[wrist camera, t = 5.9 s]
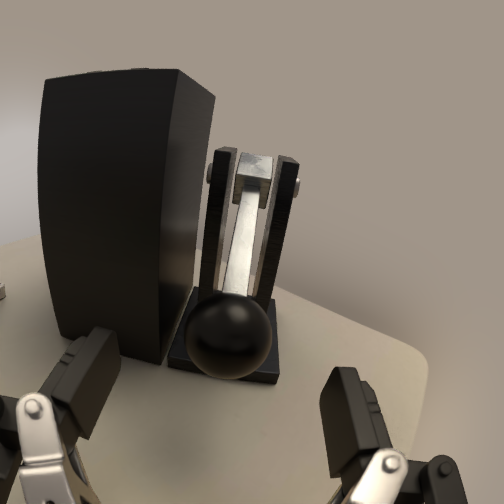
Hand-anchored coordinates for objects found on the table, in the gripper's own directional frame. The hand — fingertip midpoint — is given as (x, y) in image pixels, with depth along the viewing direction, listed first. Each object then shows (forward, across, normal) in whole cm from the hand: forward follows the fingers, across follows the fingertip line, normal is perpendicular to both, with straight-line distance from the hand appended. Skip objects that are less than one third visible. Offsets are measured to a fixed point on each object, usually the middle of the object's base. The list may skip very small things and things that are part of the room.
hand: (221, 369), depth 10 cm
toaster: (+13, +9, +8) cm, 18 cm away
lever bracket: (+12, 0, +8) cm, 15 cm away
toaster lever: (+8, 0, -1) cm, 8 cm away
